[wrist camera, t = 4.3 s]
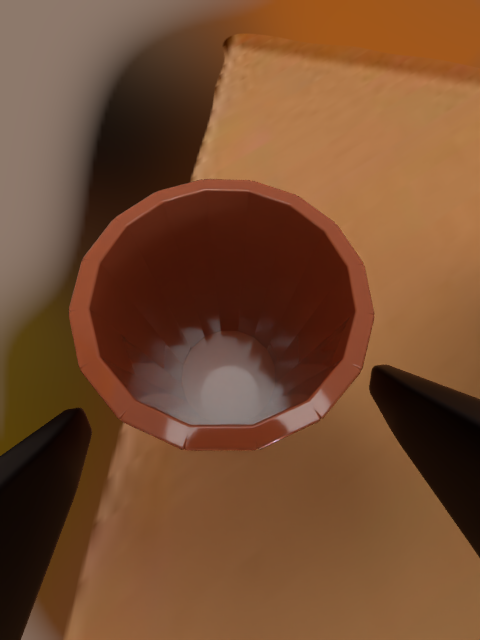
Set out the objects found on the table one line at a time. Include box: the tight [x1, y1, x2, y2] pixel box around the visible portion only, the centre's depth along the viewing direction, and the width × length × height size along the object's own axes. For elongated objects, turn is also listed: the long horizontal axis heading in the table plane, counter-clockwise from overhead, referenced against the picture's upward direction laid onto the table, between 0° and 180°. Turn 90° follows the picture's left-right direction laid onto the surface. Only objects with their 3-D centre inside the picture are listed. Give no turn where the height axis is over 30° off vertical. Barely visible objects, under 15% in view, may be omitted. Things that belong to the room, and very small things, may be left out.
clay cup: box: [69, 179, 374, 451], centre depth 12 cm, size 7×7×12 cm
